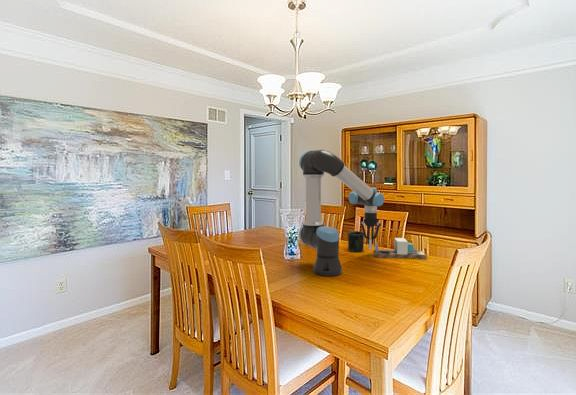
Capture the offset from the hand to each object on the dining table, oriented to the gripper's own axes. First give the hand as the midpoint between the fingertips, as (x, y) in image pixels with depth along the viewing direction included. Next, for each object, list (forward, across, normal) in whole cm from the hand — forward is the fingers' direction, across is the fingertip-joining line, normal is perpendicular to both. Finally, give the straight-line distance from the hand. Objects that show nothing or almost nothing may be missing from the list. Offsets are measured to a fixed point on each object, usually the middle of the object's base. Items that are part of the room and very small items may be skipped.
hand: (370, 249), depth 204 cm
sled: (+1, +16, 0) cm, 16 cm away
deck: (+4, +18, 0) cm, 18 cm away
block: (0, +23, 0) cm, 23 cm away
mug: (+4, -7, +13) cm, 15 cm away
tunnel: (+2, +19, 0) cm, 19 cm away
